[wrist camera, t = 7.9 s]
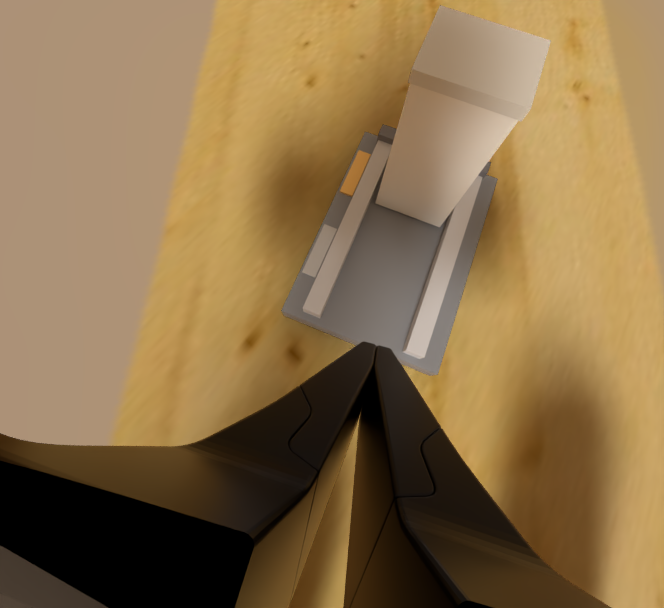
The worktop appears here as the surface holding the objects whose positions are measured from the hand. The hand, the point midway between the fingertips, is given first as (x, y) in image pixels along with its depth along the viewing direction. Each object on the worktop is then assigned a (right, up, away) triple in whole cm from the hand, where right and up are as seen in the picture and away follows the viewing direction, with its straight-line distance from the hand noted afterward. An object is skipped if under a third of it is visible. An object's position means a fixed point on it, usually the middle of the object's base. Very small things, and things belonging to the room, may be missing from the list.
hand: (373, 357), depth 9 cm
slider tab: (+5, +10, +14) cm, 18 cm away
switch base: (+3, +6, +15) cm, 16 cm away
